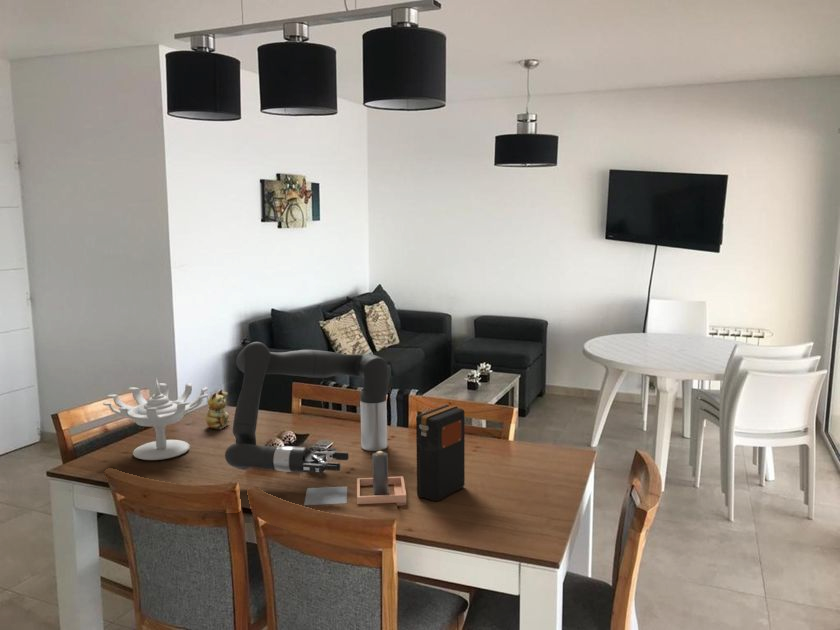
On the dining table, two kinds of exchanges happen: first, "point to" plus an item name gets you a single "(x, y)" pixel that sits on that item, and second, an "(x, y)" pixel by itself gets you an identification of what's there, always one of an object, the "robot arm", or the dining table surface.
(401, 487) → the bin
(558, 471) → the dining table surface
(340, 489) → the pad
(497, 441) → the dining table surface
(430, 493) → the black case
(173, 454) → the candelabra
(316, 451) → the pocket watch
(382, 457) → the battery
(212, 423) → the decorative figurine
